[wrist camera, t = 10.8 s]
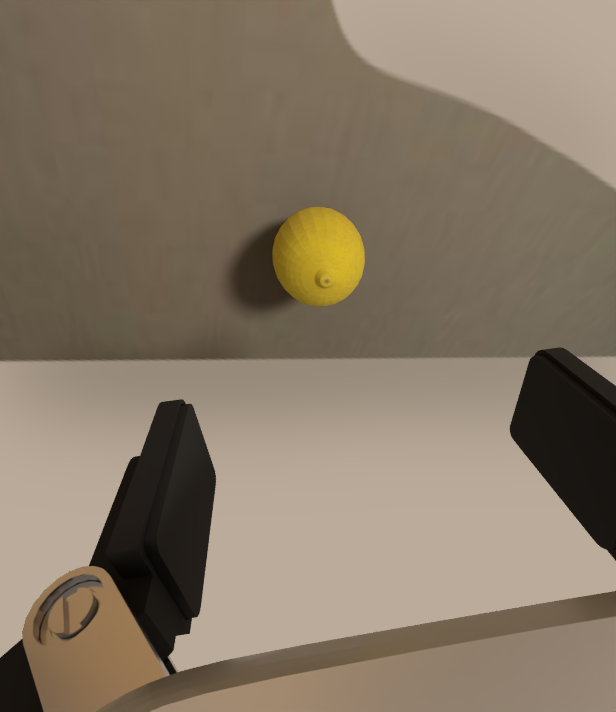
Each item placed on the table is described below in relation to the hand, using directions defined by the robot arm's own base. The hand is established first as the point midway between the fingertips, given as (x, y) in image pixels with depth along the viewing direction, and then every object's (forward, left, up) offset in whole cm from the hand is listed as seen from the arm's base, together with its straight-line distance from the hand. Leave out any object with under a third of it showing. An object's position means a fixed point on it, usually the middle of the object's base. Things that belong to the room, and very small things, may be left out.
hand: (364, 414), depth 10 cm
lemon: (0, 0, -19) cm, 19 cm away
